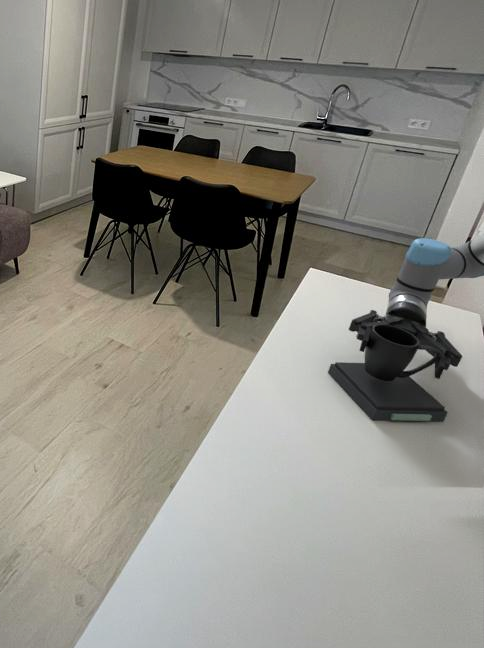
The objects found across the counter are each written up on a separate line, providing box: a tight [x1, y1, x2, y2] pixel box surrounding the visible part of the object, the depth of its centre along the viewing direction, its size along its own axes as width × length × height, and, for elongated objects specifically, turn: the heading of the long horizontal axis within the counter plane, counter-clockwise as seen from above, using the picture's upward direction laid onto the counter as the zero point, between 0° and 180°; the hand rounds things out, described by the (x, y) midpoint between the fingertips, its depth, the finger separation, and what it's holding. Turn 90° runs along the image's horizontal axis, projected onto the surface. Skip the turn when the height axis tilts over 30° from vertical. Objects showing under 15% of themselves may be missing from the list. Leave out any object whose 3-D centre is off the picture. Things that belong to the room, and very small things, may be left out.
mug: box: [364, 324, 441, 381], centre depth 101 cm, size 8×12×10 cm
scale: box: [327, 361, 449, 423], centre depth 104 cm, size 16×15×3 cm
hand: (400, 358), depth 98 cm, fingers closed on mug, 12 cm apart
